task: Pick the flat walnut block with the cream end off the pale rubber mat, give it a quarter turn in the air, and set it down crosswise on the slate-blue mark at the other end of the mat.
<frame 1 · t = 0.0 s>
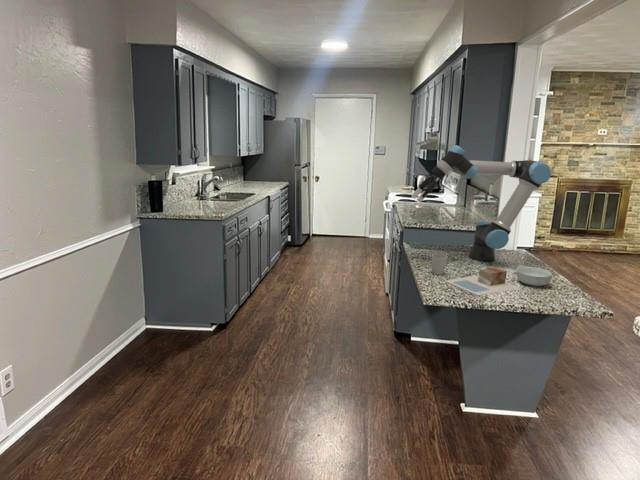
hand: (415, 199, 253), 36 cm above the table, tool tilted 35°, fingers open, 13 cm apart
cereal bowl: (531, 284, 231), on the table
mat: (481, 284, 225), on the table
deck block: (491, 282, 229), resting on mat
cup: (437, 274, 239), on the table
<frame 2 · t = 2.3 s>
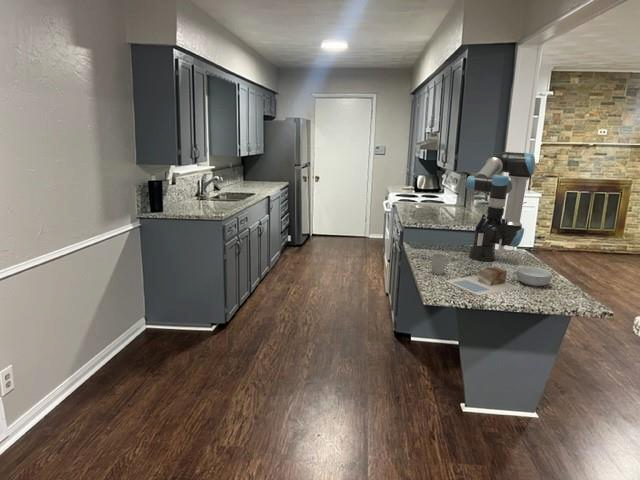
hand: (489, 248, 225), 18 cm above the table, tool pointing down, fingers open, 13 cm apart
nothing on the table moved.
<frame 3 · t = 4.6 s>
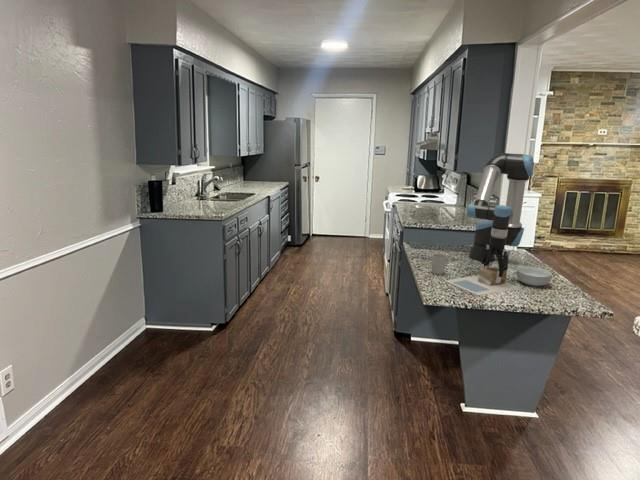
hand: (491, 280, 228), 2 cm above the table, tool pointing down, fingers closed on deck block, 7 cm apart
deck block: (491, 282, 229), resting on mat, touching gripper
everything else where it was.
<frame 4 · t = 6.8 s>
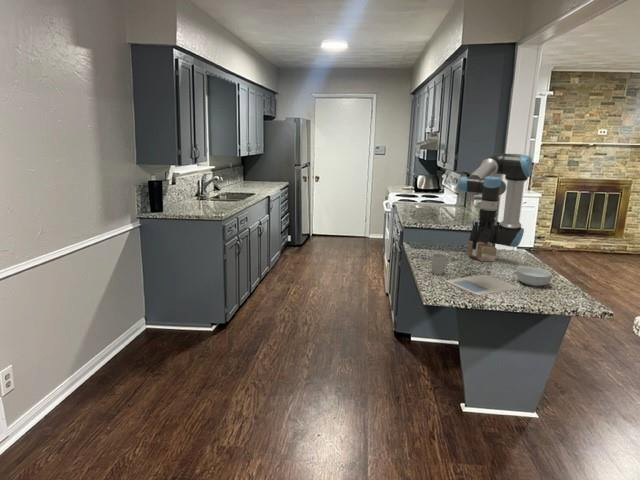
hand: (481, 255, 219), 16 cm above the table, tool pointing down, fingers closed on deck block, 7 cm apart
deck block: (481, 257, 220), point 15 cm above the table, touching gripper
everything else where it was.
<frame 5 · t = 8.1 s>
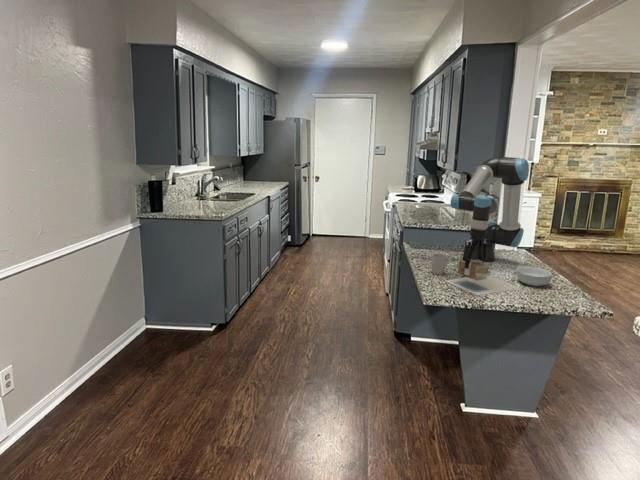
hand: (472, 273, 220), 7 cm above the table, tool pointing down, fingers closed on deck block, 7 cm apart
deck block: (472, 276, 220), point 6 cm above the table, touching gripper
everything else where it was.
when the fingers open (3 cm above the table, at t = 9.2 s): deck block drops 1 cm, resting on mat.
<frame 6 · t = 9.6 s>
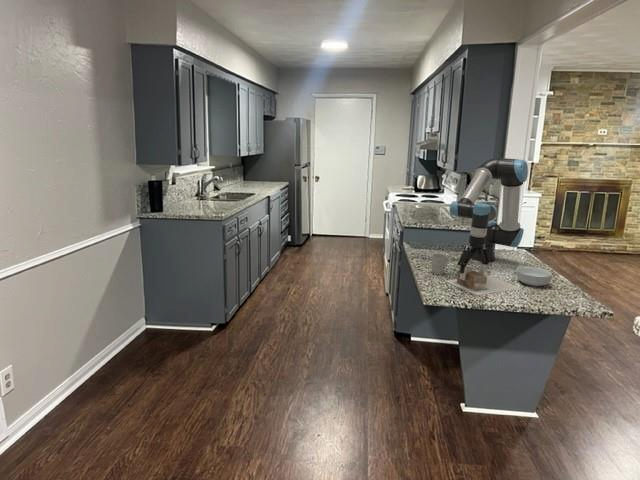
hand: (471, 277, 220), 5 cm above the table, tool pointing down, fingers open, 13 cm apart
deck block: (470, 285, 221), resting on mat
everything else where it was.
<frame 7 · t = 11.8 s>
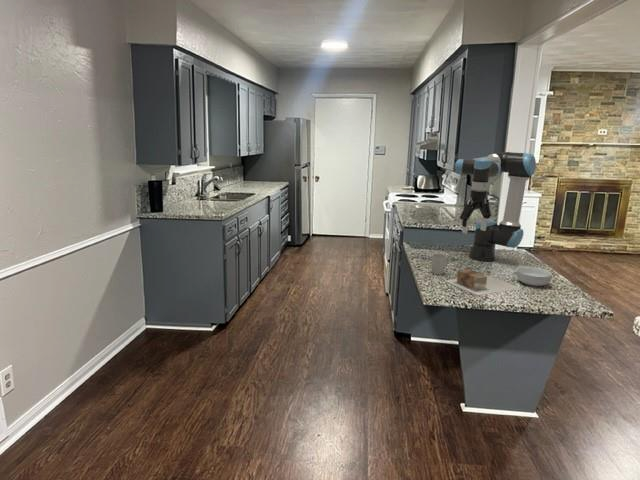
hand: (473, 231, 228), 25 cm above the table, tool pointing down, fingers open, 13 cm apart
nothing on the table moved.
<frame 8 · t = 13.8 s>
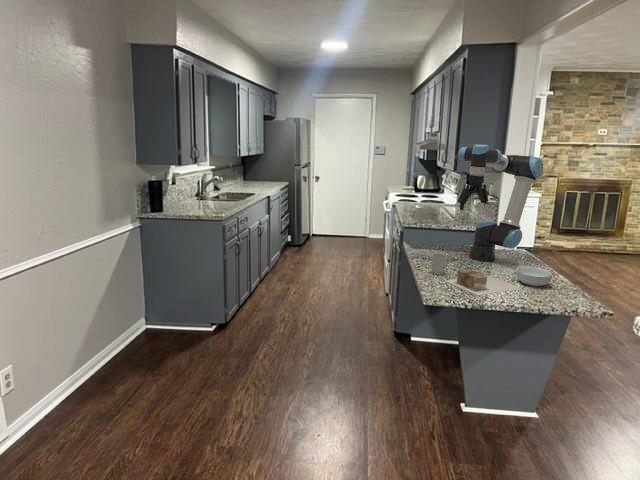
hand: (471, 215, 236), 32 cm above the table, tool pointing down, fingers open, 13 cm apart
nothing on the table moved.
at the end: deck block 0.0 cm from the target spot on the mat, point 0.4 cm above the mat's base; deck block tilted 0°; the gripper is holding nothing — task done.
